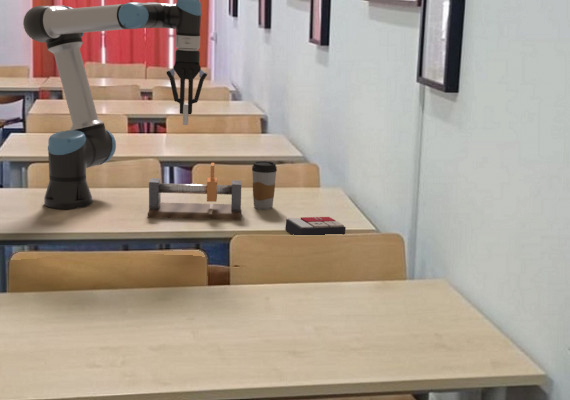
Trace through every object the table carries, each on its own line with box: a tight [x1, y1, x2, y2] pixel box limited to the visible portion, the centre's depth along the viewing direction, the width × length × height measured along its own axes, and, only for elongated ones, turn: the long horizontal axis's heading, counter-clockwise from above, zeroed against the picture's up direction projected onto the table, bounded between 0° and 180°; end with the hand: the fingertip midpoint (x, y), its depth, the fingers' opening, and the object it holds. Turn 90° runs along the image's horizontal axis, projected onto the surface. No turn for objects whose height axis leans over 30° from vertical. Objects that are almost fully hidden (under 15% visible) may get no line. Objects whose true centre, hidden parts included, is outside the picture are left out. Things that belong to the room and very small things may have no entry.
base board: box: [147, 202, 242, 221], centre depth 263 cm, size 29×14×2 cm, turn 93°
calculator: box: [284, 216, 347, 236], centre depth 246 cm, size 11×4×15 cm
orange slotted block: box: [206, 162, 218, 203], centre depth 261 cm, size 3×6×11 cm, turn 3°
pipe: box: [148, 177, 242, 213], centre depth 262 cm, size 29×6×9 cm, turn 93°
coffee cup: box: [251, 160, 278, 210], centre depth 272 cm, size 8×8×15 cm
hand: (185, 124), depth 261 cm, fingers closed
